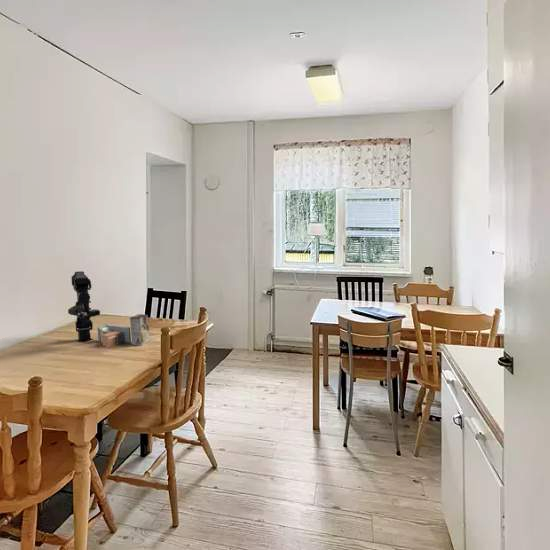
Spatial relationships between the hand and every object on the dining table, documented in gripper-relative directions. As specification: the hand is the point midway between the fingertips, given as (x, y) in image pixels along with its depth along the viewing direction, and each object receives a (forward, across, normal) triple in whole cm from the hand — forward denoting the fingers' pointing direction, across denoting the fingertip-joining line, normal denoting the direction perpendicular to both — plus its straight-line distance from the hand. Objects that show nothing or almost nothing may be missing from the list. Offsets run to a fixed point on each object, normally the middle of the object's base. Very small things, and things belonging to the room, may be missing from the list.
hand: (85, 326), depth 232 cm
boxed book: (+11, +11, +8) cm, 18 cm away
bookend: (+11, +17, +11) cm, 23 cm away
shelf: (+11, +10, +11) cm, 19 cm away
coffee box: (+11, +25, +16) cm, 32 cm away
